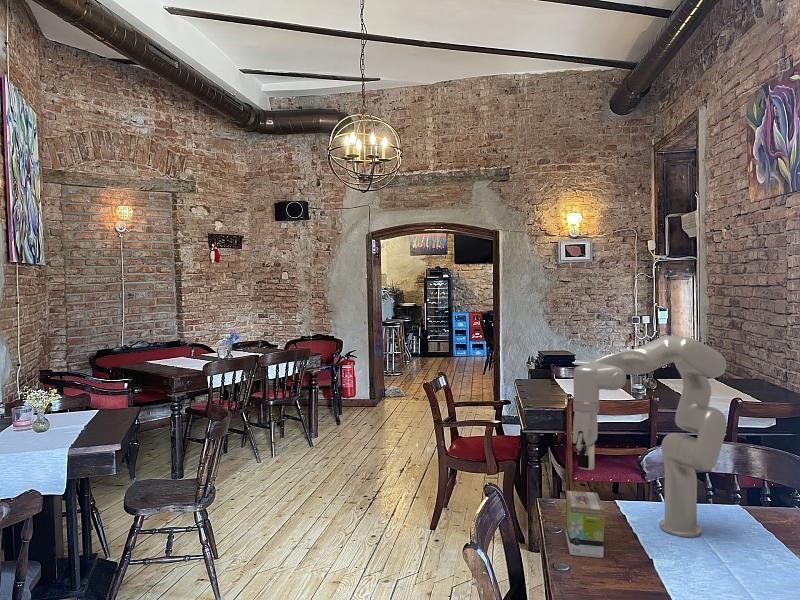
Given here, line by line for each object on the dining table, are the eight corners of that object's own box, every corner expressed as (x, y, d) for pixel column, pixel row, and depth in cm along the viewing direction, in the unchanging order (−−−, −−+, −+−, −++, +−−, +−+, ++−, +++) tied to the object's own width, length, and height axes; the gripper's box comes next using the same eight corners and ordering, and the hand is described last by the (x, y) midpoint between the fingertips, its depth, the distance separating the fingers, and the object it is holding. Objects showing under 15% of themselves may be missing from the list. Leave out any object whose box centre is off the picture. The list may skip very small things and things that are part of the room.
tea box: (604, 559, 165) (605, 508, 165) (569, 555, 167) (569, 506, 167) (597, 537, 179) (597, 491, 179) (564, 534, 181) (565, 489, 181)
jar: (581, 463, 176) (581, 439, 176) (596, 466, 173) (596, 442, 173) (575, 467, 172) (575, 443, 172) (591, 470, 169) (591, 445, 169)
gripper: (583, 401, 182) (583, 456, 182) (564, 409, 168) (564, 470, 168) (606, 403, 177) (606, 461, 177) (589, 412, 163) (589, 474, 164)
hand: (586, 464), depth 173 cm, fingers closed on jar, 4 cm apart
